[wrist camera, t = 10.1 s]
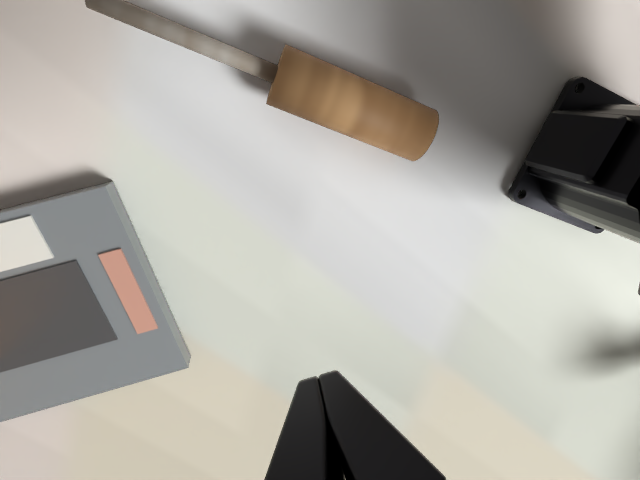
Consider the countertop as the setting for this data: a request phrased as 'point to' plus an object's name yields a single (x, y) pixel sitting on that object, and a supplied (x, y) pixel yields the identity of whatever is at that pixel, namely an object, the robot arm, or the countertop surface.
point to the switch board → (78, 303)
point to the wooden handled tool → (306, 86)
